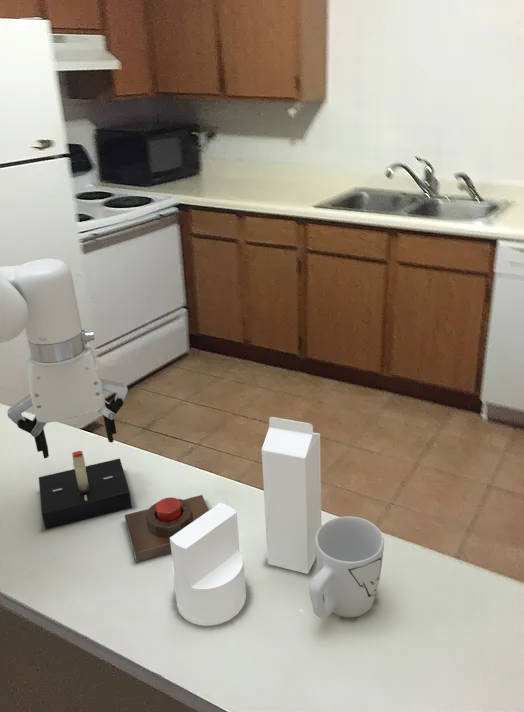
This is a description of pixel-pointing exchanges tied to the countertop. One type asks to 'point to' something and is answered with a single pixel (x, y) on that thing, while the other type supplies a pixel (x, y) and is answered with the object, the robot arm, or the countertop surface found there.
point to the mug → (346, 567)
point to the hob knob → (80, 472)
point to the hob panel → (70, 506)
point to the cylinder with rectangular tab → (209, 568)
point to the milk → (291, 493)
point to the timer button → (168, 509)
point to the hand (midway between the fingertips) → (78, 445)
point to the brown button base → (160, 528)
